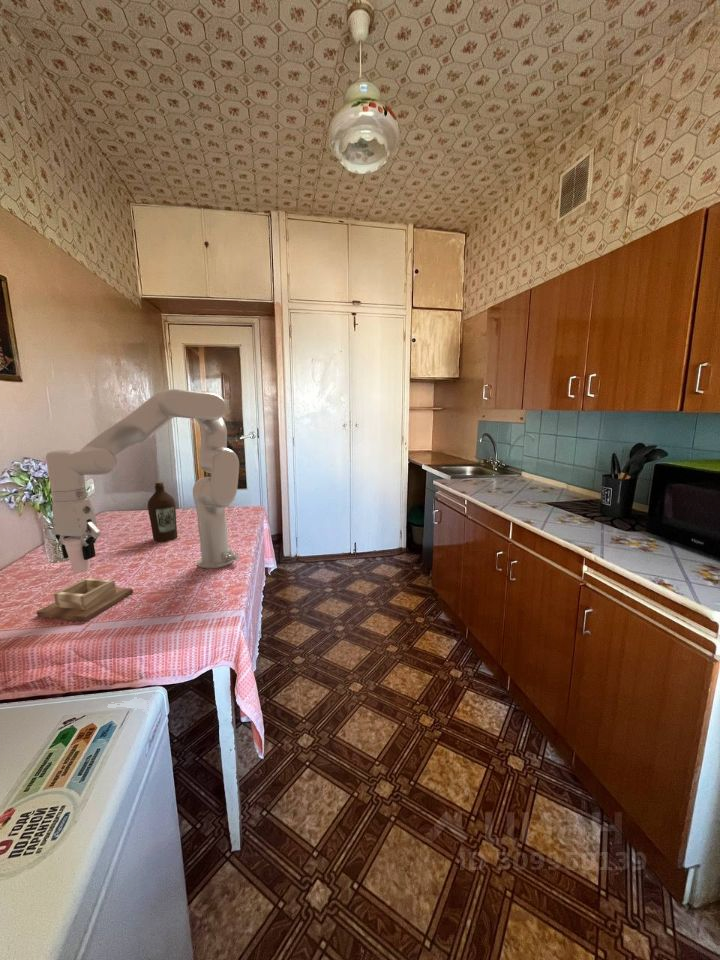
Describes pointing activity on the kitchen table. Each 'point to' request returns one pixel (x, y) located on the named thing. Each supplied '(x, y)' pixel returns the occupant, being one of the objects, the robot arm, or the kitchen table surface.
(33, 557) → the kitchen table surface
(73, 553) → the smoothie
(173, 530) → the olive oil
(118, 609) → the kitchen table surface
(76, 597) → the wooden open box
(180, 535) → the kitchen table surface
